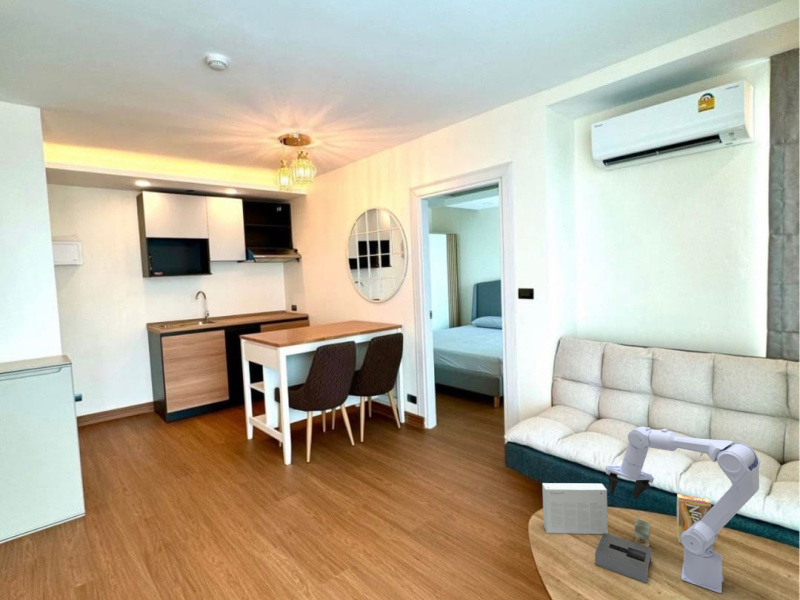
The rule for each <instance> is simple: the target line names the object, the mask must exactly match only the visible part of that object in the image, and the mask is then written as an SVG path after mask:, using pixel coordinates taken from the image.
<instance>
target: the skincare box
mask: <svg viewBox="0 0 800 600" xmlns="http://www.w3.org/2000/svg"><path fill="white" fill-rule="evenodd" d="M542 512H543V513H542V515H543V518H542V519H543V527H544V529H545V532H546V534H567V535H569V534H575V535H576V534H577V535H579V534H580V535H582V534H583V535H603V533H606V534H609V525H608V517H609V513H608V489H607V488H606V487H605V485H604V484H603V483H593V482H592V483H588V482H587V483H579V482H578V483H577V482H575V483H574V482H573V483H570V482H567V483H566V482H565V483H564V482H561V483H560V482H559V483H557V482H553V483H552V482H551V483H550V482H548V483H547V482H542Z"/></svg>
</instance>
